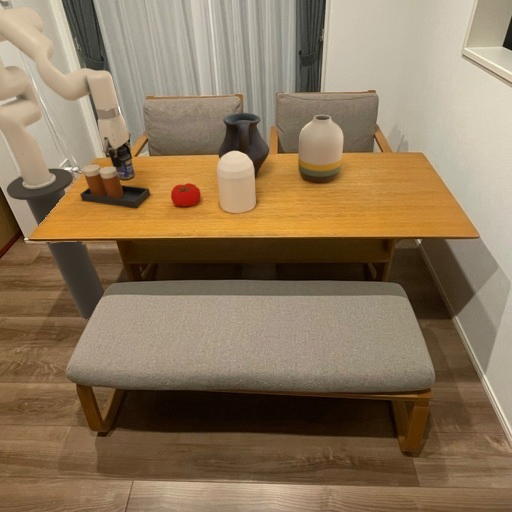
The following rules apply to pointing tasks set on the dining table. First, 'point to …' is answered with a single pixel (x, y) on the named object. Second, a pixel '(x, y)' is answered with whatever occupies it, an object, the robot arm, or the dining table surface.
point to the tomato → (185, 195)
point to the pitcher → (244, 138)
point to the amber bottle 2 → (111, 182)
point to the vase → (320, 149)
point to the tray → (130, 198)
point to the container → (236, 182)
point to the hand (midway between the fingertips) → (122, 162)
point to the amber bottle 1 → (94, 180)
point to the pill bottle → (124, 165)
